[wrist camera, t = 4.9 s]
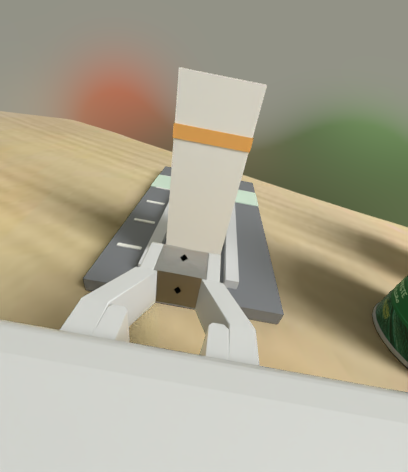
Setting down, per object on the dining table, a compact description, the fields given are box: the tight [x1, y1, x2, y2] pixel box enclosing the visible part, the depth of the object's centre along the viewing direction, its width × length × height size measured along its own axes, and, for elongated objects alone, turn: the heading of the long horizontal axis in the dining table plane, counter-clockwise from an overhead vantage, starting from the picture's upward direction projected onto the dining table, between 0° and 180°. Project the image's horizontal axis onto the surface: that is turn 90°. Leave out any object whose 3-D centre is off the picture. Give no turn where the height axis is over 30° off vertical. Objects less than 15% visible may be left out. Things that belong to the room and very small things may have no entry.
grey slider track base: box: [83, 167, 284, 324], centre depth 24 cm, size 14×24×3 cm, turn 174°
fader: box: [166, 67, 267, 255], centre depth 14 cm, size 4×3×12 cm
